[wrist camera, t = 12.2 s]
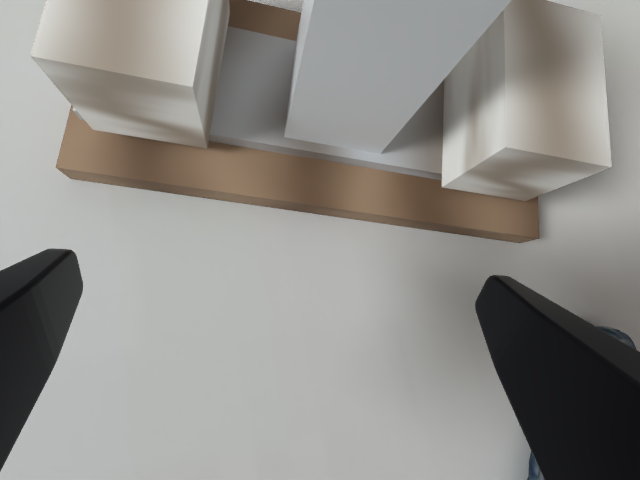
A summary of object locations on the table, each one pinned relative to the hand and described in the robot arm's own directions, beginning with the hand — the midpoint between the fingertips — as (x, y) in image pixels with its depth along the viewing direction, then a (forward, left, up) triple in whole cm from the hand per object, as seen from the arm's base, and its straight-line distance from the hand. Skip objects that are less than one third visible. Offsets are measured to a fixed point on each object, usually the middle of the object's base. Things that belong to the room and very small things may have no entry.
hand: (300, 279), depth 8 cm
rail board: (+3, -10, -11) cm, 15 cm away
